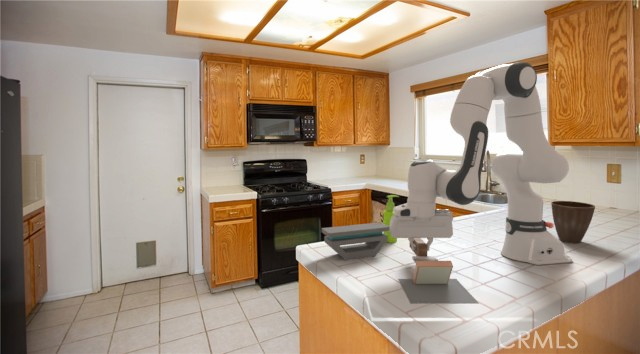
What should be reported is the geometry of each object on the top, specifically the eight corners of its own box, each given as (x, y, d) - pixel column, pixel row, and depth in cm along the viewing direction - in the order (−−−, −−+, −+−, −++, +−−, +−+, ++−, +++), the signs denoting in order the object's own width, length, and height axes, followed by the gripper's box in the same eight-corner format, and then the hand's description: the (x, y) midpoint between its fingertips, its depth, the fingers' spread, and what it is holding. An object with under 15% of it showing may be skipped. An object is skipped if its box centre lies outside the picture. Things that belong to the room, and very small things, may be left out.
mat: (456, 280, 105) (456, 278, 105) (479, 305, 89) (479, 303, 89) (397, 280, 105) (397, 278, 105) (410, 305, 90) (410, 303, 89)
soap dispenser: (401, 241, 147) (402, 195, 145) (388, 243, 144) (388, 196, 142) (393, 237, 152) (394, 193, 150) (380, 239, 149) (380, 194, 147)
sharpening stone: (379, 248, 137) (379, 222, 136) (389, 254, 130) (390, 226, 129) (321, 256, 129) (321, 228, 128) (329, 262, 122) (328, 233, 121)
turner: (403, 246, 122) (403, 234, 121) (422, 246, 122) (423, 234, 121) (418, 267, 101) (419, 253, 100) (442, 267, 101) (442, 253, 100)
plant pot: (599, 242, 141) (602, 205, 140) (581, 248, 134) (584, 208, 133) (560, 234, 155) (562, 199, 153) (541, 239, 148) (543, 203, 146)
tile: (445, 278, 103) (450, 260, 98) (447, 284, 101) (453, 266, 96) (412, 278, 103) (416, 260, 98) (414, 284, 101) (418, 266, 97)
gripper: (449, 207, 114) (448, 247, 115) (388, 207, 114) (388, 247, 115) (456, 211, 107) (455, 253, 109) (392, 211, 108) (391, 253, 109)
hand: (420, 250), depth 112 cm, fingers closed on turner, 3 cm apart
